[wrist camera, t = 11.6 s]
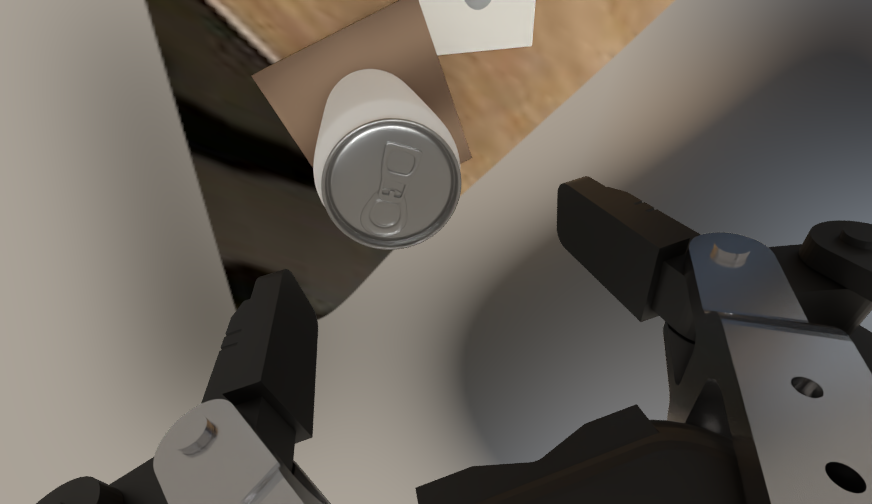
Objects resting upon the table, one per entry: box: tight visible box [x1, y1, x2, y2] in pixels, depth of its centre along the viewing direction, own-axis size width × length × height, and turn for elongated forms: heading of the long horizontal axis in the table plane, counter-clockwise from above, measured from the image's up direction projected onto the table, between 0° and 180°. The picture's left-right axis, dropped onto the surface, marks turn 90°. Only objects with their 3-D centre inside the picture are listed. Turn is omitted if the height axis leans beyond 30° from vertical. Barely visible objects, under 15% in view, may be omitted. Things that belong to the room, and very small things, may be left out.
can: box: [313, 69, 461, 250], centre depth 18 cm, size 6×6×12 cm
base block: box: [252, 0, 472, 167], centre depth 25 cm, size 11×11×4 cm
